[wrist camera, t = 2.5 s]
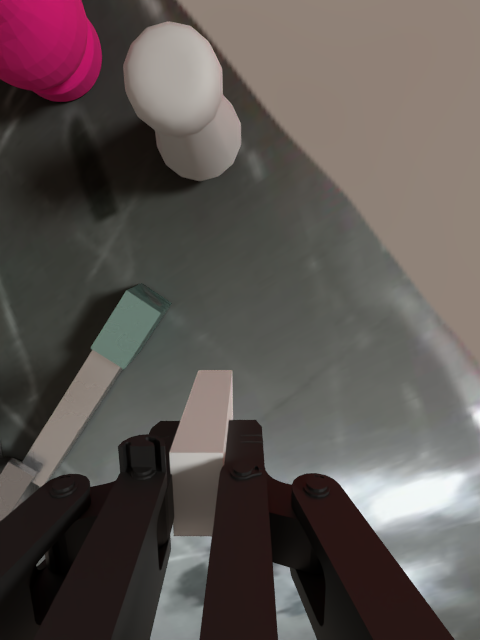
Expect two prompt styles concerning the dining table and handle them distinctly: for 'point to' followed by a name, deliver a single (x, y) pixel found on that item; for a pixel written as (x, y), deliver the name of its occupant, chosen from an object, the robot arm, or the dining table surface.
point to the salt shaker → (182, 100)
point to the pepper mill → (48, 48)
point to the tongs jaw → (85, 392)
